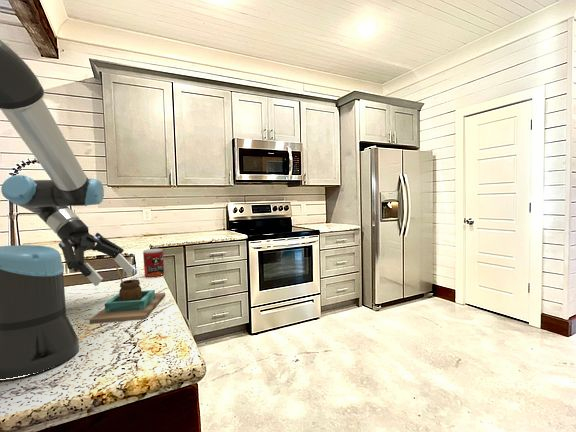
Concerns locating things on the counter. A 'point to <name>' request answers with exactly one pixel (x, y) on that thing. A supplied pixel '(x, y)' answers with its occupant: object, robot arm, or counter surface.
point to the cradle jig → (128, 308)
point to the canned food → (153, 262)
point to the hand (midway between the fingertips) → (116, 276)
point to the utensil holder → (129, 289)
